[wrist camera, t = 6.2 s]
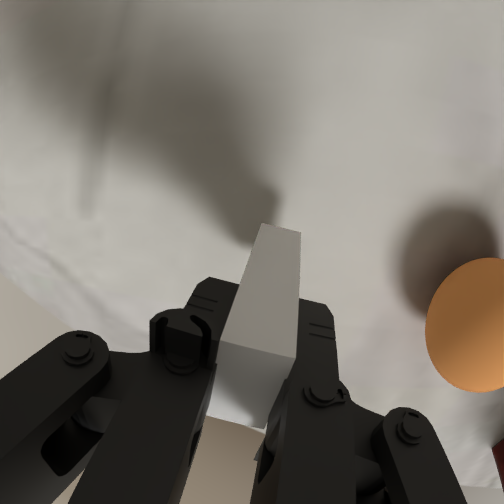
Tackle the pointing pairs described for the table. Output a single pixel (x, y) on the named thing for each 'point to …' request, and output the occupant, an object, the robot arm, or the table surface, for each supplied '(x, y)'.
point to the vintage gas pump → (499, 459)
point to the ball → (469, 326)
